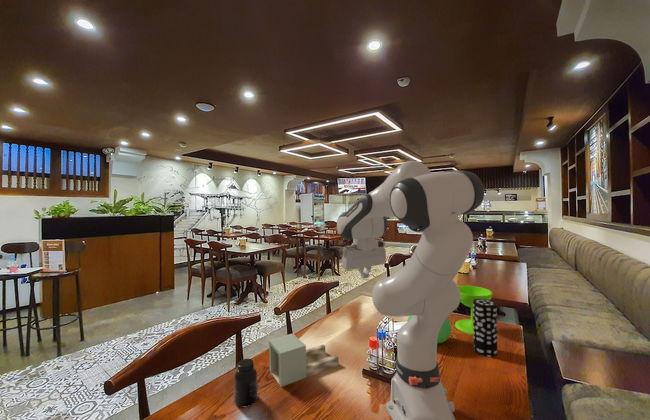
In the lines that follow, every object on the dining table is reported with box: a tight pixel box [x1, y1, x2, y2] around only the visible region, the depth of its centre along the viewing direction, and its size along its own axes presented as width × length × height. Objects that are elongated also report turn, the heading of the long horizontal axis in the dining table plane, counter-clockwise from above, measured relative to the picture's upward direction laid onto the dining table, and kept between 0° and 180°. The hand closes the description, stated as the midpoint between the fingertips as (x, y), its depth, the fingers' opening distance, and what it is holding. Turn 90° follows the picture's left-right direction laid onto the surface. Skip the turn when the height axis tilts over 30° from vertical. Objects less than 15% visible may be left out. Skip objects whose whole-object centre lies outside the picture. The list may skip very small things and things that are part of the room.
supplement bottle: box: [233, 358, 258, 407], centre depth 86 cm, size 7×7×12 cm
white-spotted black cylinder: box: [472, 299, 498, 358], centre depth 111 cm, size 8×8×20 cm
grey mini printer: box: [270, 344, 340, 388], centre depth 102 cm, size 23×11×4 cm, turn 121°
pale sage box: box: [268, 333, 308, 388], centre depth 99 cm, size 10×11×11 cm
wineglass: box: [454, 285, 493, 336], centre depth 132 cm, size 16×16×18 cm
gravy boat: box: [406, 316, 452, 345], centre depth 121 cm, size 18×17×15 cm
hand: (364, 277), depth 111 cm, fingers closed
